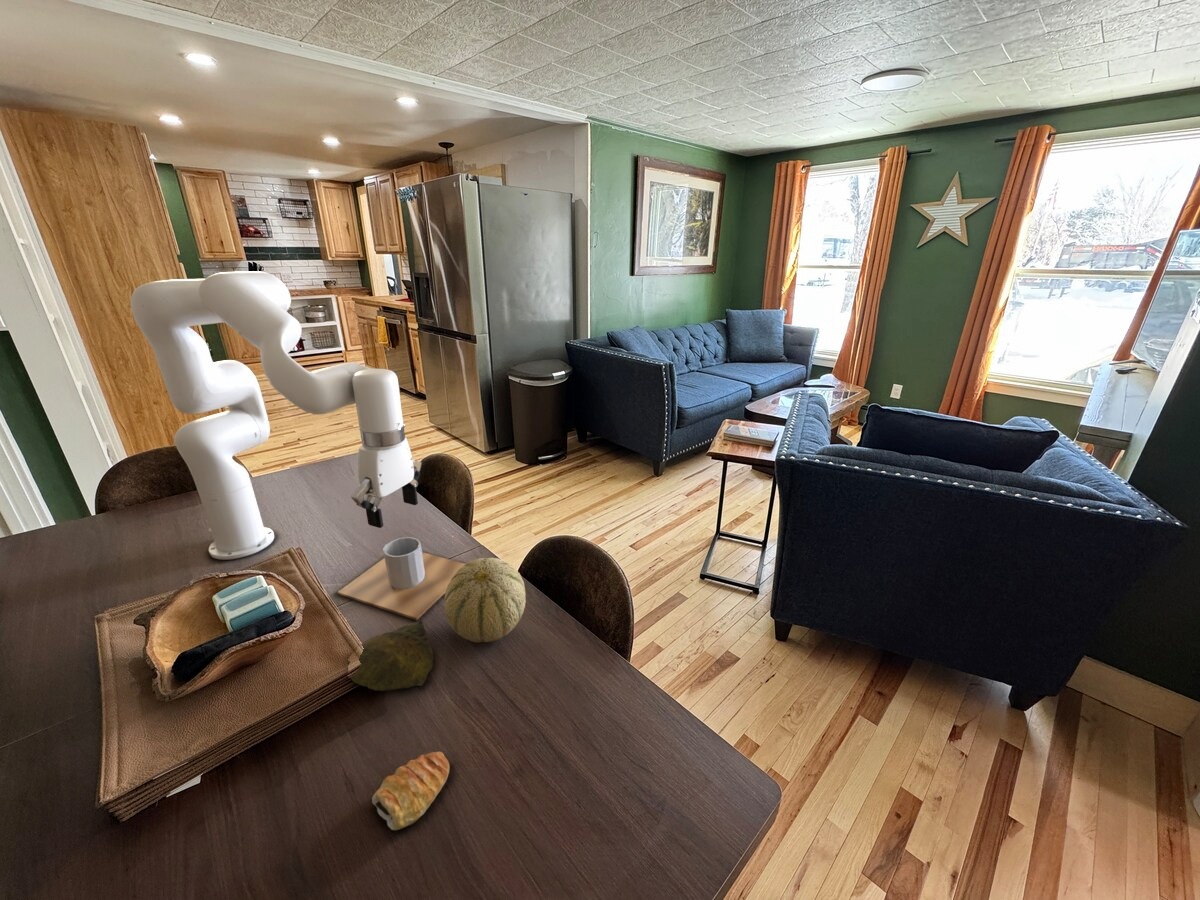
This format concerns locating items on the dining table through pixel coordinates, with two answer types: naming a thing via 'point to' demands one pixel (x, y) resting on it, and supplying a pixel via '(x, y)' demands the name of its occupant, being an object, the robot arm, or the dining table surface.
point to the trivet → (403, 601)
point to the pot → (404, 562)
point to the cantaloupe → (485, 600)
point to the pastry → (411, 790)
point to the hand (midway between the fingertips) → (394, 514)
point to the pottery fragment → (395, 659)
